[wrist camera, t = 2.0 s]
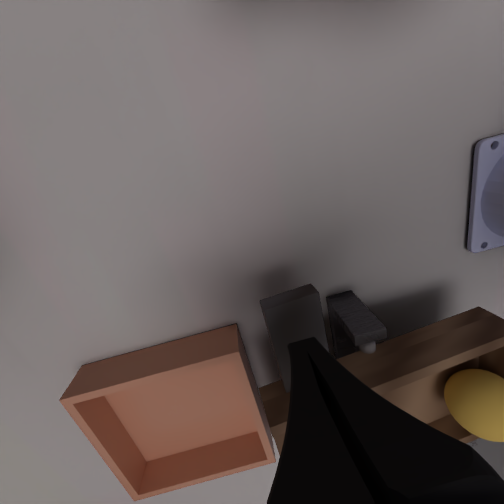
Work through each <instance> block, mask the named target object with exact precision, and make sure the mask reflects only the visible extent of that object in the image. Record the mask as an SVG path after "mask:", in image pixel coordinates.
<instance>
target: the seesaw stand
mask: <svg viewBox="0 0 504 504" xmlns="http://www.w3.org/2000/svg"><path fill="white" fill-rule="evenodd" d="M326 298H327V305H328V311H329V318H330V324H331V330H332V337H333V343H334V349H335V356H336V359H339V358H341V357H344V356H347V355H350V354H352V353H355V352H358V351H359V346H360V345H363V344H367V343H371V342H374V341H378V340H382V339H385V338H387V332H386V327H385V326H384V325H383V324H382V323H381V322H380V321H379V319H378V318H377V317H376V316H375V315H374V314H373V313H372V312H371V311H370V310H369V309H368V308H367V307H366V306H365V304H364V303H363V302H362V301H361V300H360V299H359V298H358V297H357V296H356V295H355V294H354V293H353V292H352V291H347V292H343V293H340V294H336V295H332V296H329V297H326Z"/></svg>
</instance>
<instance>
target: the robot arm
mask: <svg viewBox="0 0 504 504" xmlns="http://www.w3.org/2000/svg"><path fill="white" fill-rule="evenodd" d="M492 143H493V145H492V147H491V144H492ZM481 244H482V245H481ZM500 246H504V134H500V135H497V136H493V137H489V138H485V139H482V140H480V141H479V142H478V143H477V144H476V146H475V152H474V165H473V178H472V191H471V204H470V217H469V230H468V243H467V249H468V251H470V252H473V253H478V252H481V251H485V250H489V249H493V248H496V247H500ZM287 347H288V351H289V355H290V364H291V389H290V403H289V412H288V419H287V425H286V431H285V437H284V442H283V446H282V451H281V455H280V459H279V463H278V467H277V471H276V474H275V478H274V481H273V484H272V487H271V490H270V494H269V497H268V500H267V504H504V480H503V479H502V478H501V477H500V476H499V474H498V473H497V472H496V471H495V470H494V469H493V467H492V466H491V465H490V464H489V463H488V462H487V461H486V460H485V459H484V458H483V457H482V456H481V455H480V454H479V453H478V452H476V451H475V450H474V449H473V448H472V447H471V446H470V445H468V444H466V443H463V442H461V441H459V440H457V439H455V438H453V437H451V436H449V435H447V434H445V433H443V432H441V431H439V430H437V429H435V428H433V427H431V426H429V425H428V424H426V423H424V422H422V421H420V420H419V419H417V418H415V417H414V416H412V415H410V414H409V413H407V412H405V411H404V410H402V409H400V408H399V407H397V406H395V405H394V404H392V403H391V402H389V401H388V400H386V399H385V398H383V397H382V396H380V395H379V394H378V393H376V392H375V391H373V390H372V389H371V388H369V387H368V386H367V385H365V384H364V383H363V382H362V381H360V380H359V379H358V378H357V377H355V376H354V375H353V374H352V373H351V372H349V371H348V370H347V369H346V368H345V367H344V366H343V365H342V364H341V363H339V362H338V361H337V360H336V359H335V358H334V357H333V356H332V355H331V354H330V353H329V352H328V351H327V350H326V349H325V348H324V347H323V345H322V344H321V343H320V342H319V341H318V340H317V338H315V337H311V338H307V339H304V340H300V341H296V342H293V343H289V344H288V346H287Z"/></svg>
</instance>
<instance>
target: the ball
mask: <svg viewBox="0 0 504 504" xmlns="http://www.w3.org/2000/svg"><path fill="white" fill-rule="evenodd" d="M444 398H445V402H446V405H447V407H448V410H449V411H450V413H451V415H452V416H453V417H454V419H455V420H456V421H457V422H458V423H459V424H460V425H461V426H462V427H463V428H465V429H466V430H467V431H469V432H470V433H472V434H474V435H476V436H478V437H480V438H482V439H485V440H489V441H493V442H504V379H503V378H502V377H500V376H498V375H496V374H494V373H492V372H489V371H486V370H481V369H464V370H461V371H458V372H456V373H454V374H453V375H452V376H451V377H450V378H449V379H448V380H447V382H446V385H445V388H444Z"/></svg>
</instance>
